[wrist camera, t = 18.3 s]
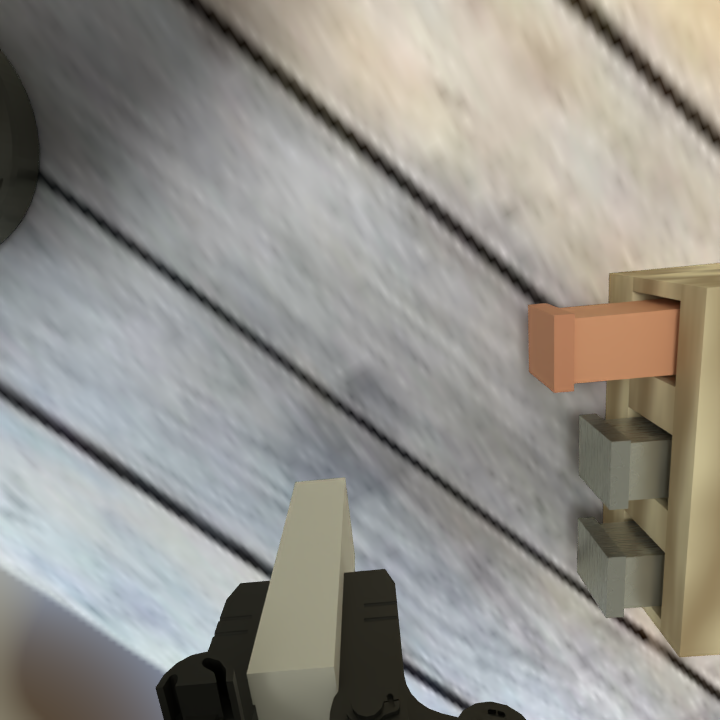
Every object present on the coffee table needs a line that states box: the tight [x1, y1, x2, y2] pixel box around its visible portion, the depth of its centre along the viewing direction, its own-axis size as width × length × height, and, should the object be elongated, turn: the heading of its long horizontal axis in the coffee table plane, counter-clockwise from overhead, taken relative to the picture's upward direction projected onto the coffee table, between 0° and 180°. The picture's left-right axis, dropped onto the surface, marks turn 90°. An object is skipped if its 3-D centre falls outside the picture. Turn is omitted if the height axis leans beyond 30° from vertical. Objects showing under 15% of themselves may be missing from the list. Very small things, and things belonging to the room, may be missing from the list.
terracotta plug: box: [528, 298, 681, 393], centre depth 26 cm, size 17×4×4 cm, turn 95°
